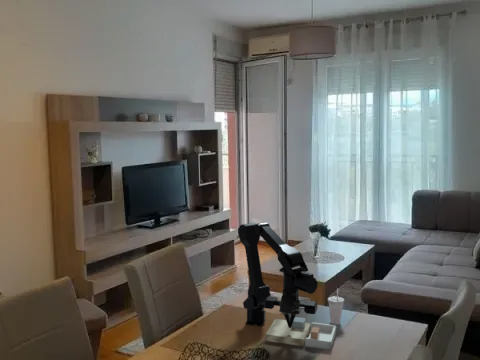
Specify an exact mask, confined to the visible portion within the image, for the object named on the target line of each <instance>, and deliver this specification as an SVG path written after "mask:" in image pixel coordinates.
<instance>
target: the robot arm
mask: <svg viewBox="0 0 480 360" xmlns="http://www.w3.org/2000/svg"><path fill="white" fill-rule="evenodd" d="M237 233H238V234H237V235H238V237H239V241H240V243H241V244H242V246H244V248H245V249H244V250H245V255H246V263H247V269H248V270H247V271H248V276H249V282H250V284H249V286H248V289H247V297H246V299H245V300H244V301H243V302H242V306H243V309H244V310H246V321H245V325H250V326H257V327H258V326H259V327H261V326H263V324H264V323H265V322H266V314H267V313H266V312H267V311H266V310H265V309H268V310H272V309H274V308H275V306H277V307H279V310H278V311H279V312H280V313H282V314H283V316H284V319H285V320H286V321H287V324H288V327H289V328H291V327H292V324H293V321H294V319H295V317H297V315H300V313H301V312H302V310H303V312H305V314H307V315H315V314H316V313H317V311H318V306H319V305H318V302H317V301H312V300H306V301H305V303H303V302H302V303H301V300H300V298H299V297H300V291H301V292H303V293H306V294H308V295H313V294H314V293H315V292H316V291H317V288H318V281H317V278H316V277H314V274H313V273H310V272H309V268H308V265H307V264H306V262H305V259H304V256H303V254H302V253H301V252H300V251H299V250H298V249H296V248H295V247H293V246H290V245H288V244H287V243H286V242H285V241H284V240H283V239H282V238H281V237H280V235H278V234H277V233H276V232H275V230H273V228H272V227H271V226H270V224H269V223H268V222H259V223H256V222H249V223H242V224H240V225H239V226H238V229H237ZM261 238H262V239H263V240H264V241H265V242H266V244H267V245H268V246H270V248H271V249H272V250H273V252H274V253H275V254H276V255H277V261H278V262H279V263H280V265H281V267H280V269H279V270H278V271H279V272H281V273H283V278H282V280H283V281H282V295H281V297H280V300H279V297H277V296H272V294H271V291H270V289H271V288H270V286H269V285H267V284H265V282H264V279H263V272H262V267H261V266H262V265H261V260H260V259H261V258H260V253H259V252H260V251H259V247H258V244H259V242H260V239H261Z"/></svg>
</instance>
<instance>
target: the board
mask: <svg viewBox="0 0 480 360" xmlns="http://www.w3.org/2000/svg"><path fill="white" fill-rule="evenodd" d="M311 330H312V322H310V323H309V322H306V325H305V327H304V329H298V328H292V327H291V328H289V327H288V324H287V321H286V319H278V318H275V319H274V320H273V321H272V324H271V325H270V327H269V328H268V330H266V333H265V337H264V338H265V340H264V341H265V342H272V343H276V344H277V343H278V344H285V345H292V346H298V347H305V338H308V337H309V335H310V333H311Z"/></svg>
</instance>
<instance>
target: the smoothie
mask: <svg viewBox="0 0 480 360" xmlns="http://www.w3.org/2000/svg"><path fill="white" fill-rule="evenodd" d="M327 302H328V311H329V321H330V324H331V325H340V324H341V318H342V312H343V307H344V304H345V299H344V298H343V297H341V296H339V288H338V287H337V288H336V296H333V295H332V296H329V297H327Z"/></svg>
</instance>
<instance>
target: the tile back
mask: <svg viewBox="0 0 480 360" xmlns="http://www.w3.org/2000/svg"><path fill="white" fill-rule="evenodd" d="M306 323H307V319H306V318H305V317H301V316H300V317H298V316H295V319H294V321H293V324H292V328H298V329H304V327H305V325H306Z"/></svg>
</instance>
